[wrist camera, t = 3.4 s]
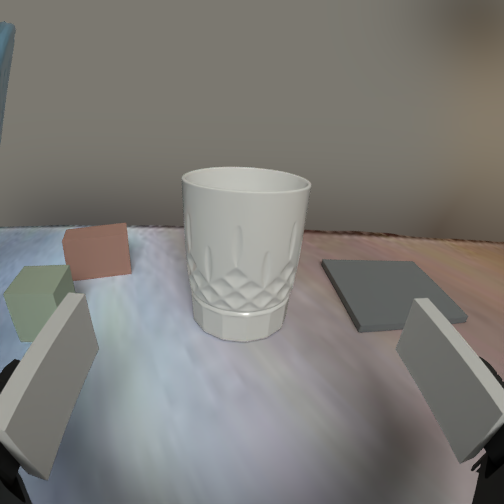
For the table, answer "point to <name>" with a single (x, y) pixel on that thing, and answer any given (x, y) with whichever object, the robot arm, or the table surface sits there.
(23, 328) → the sage block
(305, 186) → the white cup
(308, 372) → the table surface
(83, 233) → the brick-red long block
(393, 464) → the table surface
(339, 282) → the slate coaster
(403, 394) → the table surface
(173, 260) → the table surface
